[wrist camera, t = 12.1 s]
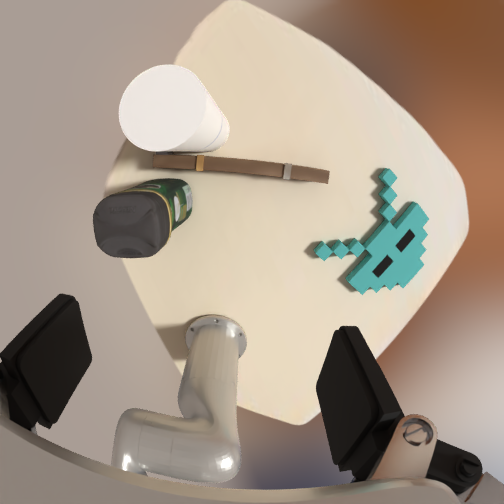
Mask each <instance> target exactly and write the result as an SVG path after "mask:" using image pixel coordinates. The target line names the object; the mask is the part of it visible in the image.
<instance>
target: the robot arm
mask: <svg viewBox="0 0 504 504" xmlns="http://www.w3.org/2000/svg"><path fill="white" fill-rule="evenodd" d="M185 341H186V345H187V347H188V349H189V353H188V357H187V361H186V365H185V369H184V372H183V376H182V380H181V384H180V388H179V392H178V404H179V408H180V411H181V413H182V415H183V417H184V418H182V417H175V416H170V415H165V414H161V413H156V412H152V411H148V410H143V409H138V408H132V409H128V410H126V411H125V412H124V413H123V414H122V415H121V417H120V419H119V421H118V424H117V428H116V432H115V439H114V446H113V454H112V461H111V466H110V465H106V464H104V463H101V462H98V461H95V460H92V459H90V458H87V457H84V456H82V455H79V454H77V453H74V452H72V451H69V450H67V449H65V448H62V447H61V446H58V445H56V444H54V443H52V442H50V441H48V440H46V439H44V438H42V437H40V436H38V435H37V431H36V427H35V424H36V422H38V423H39V424H40V425H42V426H44V427H46V428H48V429H50V428H51V426H52V424H54V423H56V422H57V421H58V419H59V417H60V415H61V413H62V412H63V410H64V408H65V406H66V404H67V403H68V401H69V399H70V397H71V396H72V394H73V392H74V391H75V389H76V387H77V385H78V384H79V382H80V380H81V379H82V377H83V375H84V374H85V372H86V370H87V369H88V367H89V366H90V363H91V361H92V354H91V351H90V347H89V344H88V340H87V336H86V333H85V329H84V324H83V320H82V317H81V311H80V307H79V303H78V301H76V299H75V297H73V296H70V295H66V294H59V295H58V296H57V297H56V298H54V300H52V301H51V302H50V303H49V304H48V305H47V306H46V307H45V308H44V309H43V310H42V311H41V312H40V313H39V314H38V315H37V316H36V317H35V318H34V319H33V320H32V321H31V322H30V323H29V324H28V325H27V326H26V327H25V328H24V329H23V330H22V331H21V332H20V333H19V334H18V335H17V336H16V337H15V338H14V339H13V340H12V341H11V342H10V343H9V344H8V345H7V346H6V348H5V349H4V350H3V351H2V352H1V353H0V358H1V360H2V362H1V363H0V504H504V484H502V483H501V482H499V481H498V480H497V479H496V478H494V477H493V476H492V475H490V474H489V473H488V472H485V473H484V474H483V473H482V464H481V462H480V460H479V459H478V458H477V456H475V455H474V454H472V453H470V452H467V451H464V450H462V449H459V448H457V447H455V446H452V445H450V444H447V443H445V442H443V441H440V440H438V439H437V430H436V427H435V426H434V424H433V423H432V422H431V421H430V420H429V419H428V418H426V417H424V416H422V415H418V414H410V415H407V416H404V414H403V412H402V410H401V408H400V406H399V404H398V401H397V399H396V397H395V396H394V394H393V391H392V389H391V387H390V386H389V384H388V382H387V380H386V378H385V376H384V374H383V372H382V370H381V368H380V366H379V365H378V363H377V362H376V360H375V358H374V356H373V354H372V352H371V350H370V349H369V347H368V345H367V343H366V341H365V339H364V338H363V336H362V334H361V332H360V330H359V328H358V327H357V326H341V327H340V328H339V330H335V332H334V334H333V337H332V340H331V343H330V346H329V349H328V352H327V355H326V358H325V361H324V364H323V367H322V370H321V372H320V375H319V378H318V381H317V384H316V392H317V396H318V400H319V404H320V408H321V412H322V416H323V421H324V425H325V429H326V433H327V438H328V441H329V446H330V451H331V455H332V459H333V463H334V464H335V465H338V466H339V470H340V472H341V471H347V470H352V474H353V476H354V478H353V479H352V481H351V482H350V483H348V484H342V485H334V486H326V487H316V488H303V489H285V490H244V489H227V488H215V487H206V486H198V485H191V484H184V483H178V482H173V481H167V480H162V479H158V478H153V477H148V476H147V474H146V471H147V472H151V473H156V474H160V475H164V476H169V477H172V478H177V479H183V480H187V481H194V482H201V483H221V482H225V481H228V480H230V479H231V478H233V477H234V476H235V475H236V474H237V473H238V471H239V469H240V465H241V447H240V443H239V437H238V431H237V420H236V404H237V379H238V359H239V358H240V357H241V356H242V355H243V354H244V352H245V350H246V346H247V339H246V335H245V332H244V330H243V329H242V327H241V326H240V325H239V324H238V323H236V322H235V321H233V320H231V319H229V318H227V317H223V316H218V315H208V316H203V317H200V318H198V319H196V320H195V321H193V322H192V323H191V324H190V326H189V327H188V329H187V332H186V336H185Z"/></svg>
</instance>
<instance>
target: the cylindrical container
mask: <svg viewBox="0 0 504 504" xmlns="http://www.w3.org/2000/svg"><path fill="white" fill-rule="evenodd" d="M119 121H120V125H121V128H122V130H123V132H124V134H125V136H126V137H127V138H128V140H129V141H130V142H132V143H133V144H134V145H135V146H137V147H139V148H141V149H144V150H148V151H192V152H211V151H214V150H217V149H219V148H220V147H221V146H223V145H224V144H225V142H226V141H227V139H228V136H229V131H230V129H229V124H228V121H227V119H226V118H225V116H224V115H223V113H222V112H221V110H220V109H219V107H218V106H217V104H216V103H215V101H214V100H213V98H212V97H211V95H210V94H209V92H208V91H207V90H206V88H205V87H204V85H203V84H202V82H201V81H200V79H199V78H198V77H197V76H196V75H195V74H194V73H193V72H191V71H190V70H188V69H186V68H184V67H181V66H177V65H160V66H155V67H153V68H150V69H148V70H146V71H144V72H143V73H141V74H139V75H138V76H137V77H136V78H135V79H134V80H133V81H132V82H131V83H130V84H129V86H128V87H127V88H126V90H125V92H124V94H123V96H122V99H121V102H120V107H119Z"/></svg>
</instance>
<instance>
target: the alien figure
mask: <svg viewBox="0 0 504 504" xmlns="http://www.w3.org/2000/svg"><path fill="white" fill-rule="evenodd" d="M378 177H379V178H380V180H381V181H382V182H383V183H384V184H385V185H386V186H385V187H384V188H383V189H382V191H381V192H380V193H379V196H380V197H381V198H382V199H383V200H384V201H385V202H386V203H385V204H384V205H383V206H382V207H381V209H380V210H379V211H378V212H379V213H380V214H381V215H382V216H383V217H384V218H385V220H384V221H383V222H382V224H381V225H380V226H379V227H378V228H377V229H376V230H375V232H374V233H373V234H372V235H371V236H370V237H369V238H368V239H367V241H366V242H365V243H364V244H363V245H362V244H361V243H360V242H359V241H357V240H356V239H355V238H354V239H353V240H352V241H351V243H350V244H349V245H348V246H347V247H346V246H345V245H344V244H343V243H342V242H341V241H340V240H339V239H338V241H337V242H336V243H335V244H334V245H333V246H332V247H331V248H329V247H328V246H327V245H326V244H325V243H324V242H323V241H321V242H320V243H319V244H318V246H317V247H316V248H315V249H314V252H315V253H316V254H317V255H318V256H319V257H320V258H321V259H322V260H324V261H325V260H326V259H327V258H328V257H329V256H330V255H331V253H332V252H334V253H335V254H336V255H337V256H338V257H339V258H340V259H342V258H343V257H344V256H345V255H346V254H347V253H348V252H349V250H350V251H351V252H352V253H353V254H354V255H355V256H356V257H357V258H358V257H359V255H360V254H361V253H362V252H363V251H364V250H365V249H366V250H367V251H368V252H369V253H368V255H367V256H366V257H365V258H364V259H363V260H362V261H361V262H360V263H359V264H358V265H357V266H356V267H355V269H354V270H353V271H352V272H351V273H350V274H349V275H348V276H347V277H346V280H347V281H348V282H349V283H350V284H351V285H352V286H353V287H354V288H355V289H356V290H357V291H359V292H360V293H361V294H362V295H363V294H364V293H365V292H366V291H367V290H368V288H369V287H371V288H372V289H373V290H374V291H375V292H376V293H377V292H378V291H379V290H380V289H381V288H382V287H383V285H385V286H386V287H387V288H388V289H389V290H391V289H392V288H393V287H394V286H395V285H396V284H397V283H398V284H399V285H400V286H401V287H402V288H404V287H405V286H406V285H407V284H408V282H409V281H410V280H411V279H412V278H413V277H414V276H415V275H416V274H417V272H418V271H419V270H420V269H421V268H422V267H423V265H424V264H423V262H422V261H421V260H420V257H421V256H422V254H423V253H424V252H425V251H426V249H425V248H424V246H423V245H422V244H421V243H422V241H423V240H424V239H425V238H426V236H427V235H428V234H427V233H426V232H425V230H424V229H423V228H422V227H423V226H424V225H425V224H426V222H427V221H428V220H429V218H428V217H427V216H426V214H425V213H424V211H423V210H422V209H421V207H420V206H419V205H418V203H415V202H412V203H411V205H410V206H409V207H408V208H407V210H406V211H405V212H404V213H403V214H402V216H401V217H400V218H399V219H398V220H397V222H396V223H395V224H394V225H392V224H391V223H390V220H391V219H392V218H393V217H394V216H395V214H396V213H397V212H396V211H395V210H394V208H393V207H392V206H391V205H390V204H391V203H392V201H393V200H394V199H395V198H396V197H397V194H396V193H395V192H394V191H393V190H392V188H391V187H390V186H391V185H392V184H393V183H394V182H395V180H396V179H397V177H396V176H395V174H394V173H393V172H392V171H391V170H390V169H387V168H385V169H384V171H383V172H382V173H381V174H380V175H379V176H378Z"/></svg>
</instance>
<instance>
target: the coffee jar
mask: <svg viewBox="0 0 504 504" xmlns="http://www.w3.org/2000/svg"><path fill="white" fill-rule="evenodd" d="M191 211H192V193H191V189H190V187H189V185H188V184H187V183H186V182H185V181H183V180H181V179H170V178H166V179H156V180H151V181H147V182H145V183H142V184H140V185H138V186H135V187H133V188H130V189H127V190H124V191H121V192H118V193H115V194H112V195H110V196H108V197H106V198H104V199H103V200H102V201H101V202H100V203H99V204H98V205H97V207H96V209H95V211H94V214H93V224H94V233H95V238H96V242H97V245H98V247H99V248H100V249H101V250H102V251H103V252H105V253H106V254H108V255H110V256H113V257H120V258H142V257H150V256H153V255H154V254H156V253H157V252H158V251H159V250H160V249H161V248H162V247H164V246H165V245H166V244H167V242H168V240H169V238H170V235H171V232H172V231H173V230H174V229H175V228H177V227H178V226H179V225H181V224H182V223H183V222H184V221H185V220H187V219H188V217H189V216H190V214H191Z"/></svg>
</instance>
